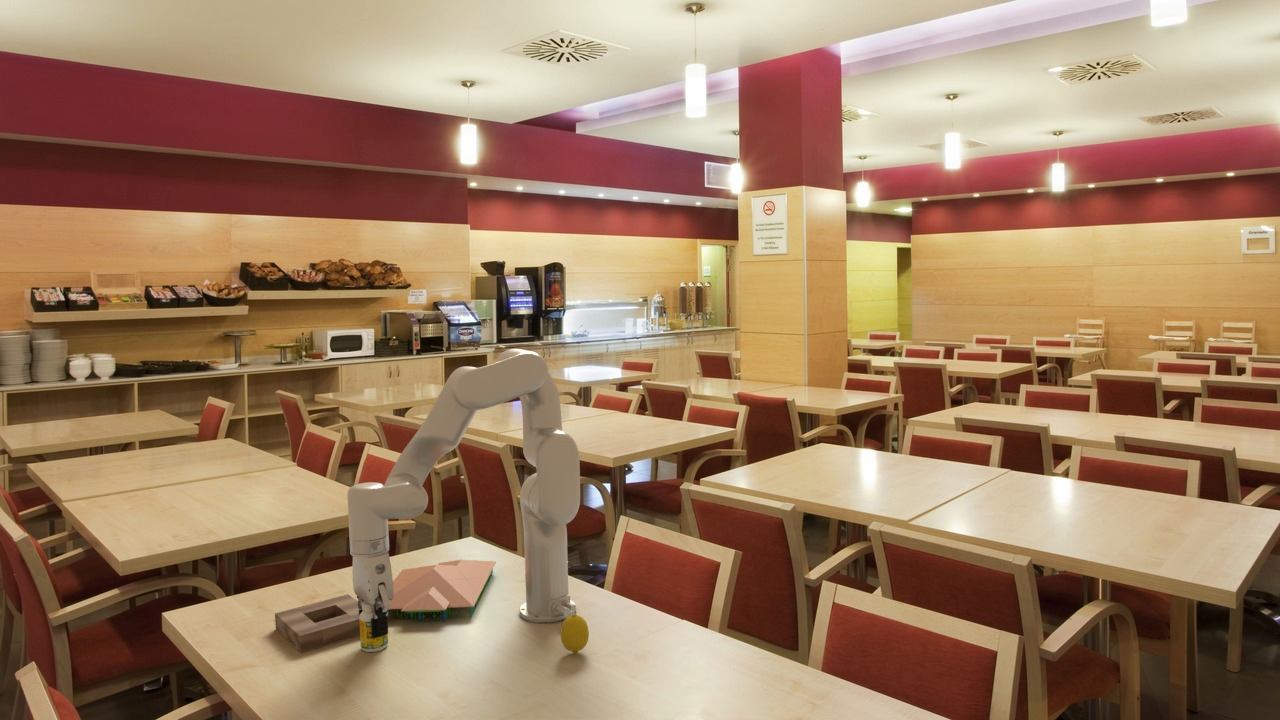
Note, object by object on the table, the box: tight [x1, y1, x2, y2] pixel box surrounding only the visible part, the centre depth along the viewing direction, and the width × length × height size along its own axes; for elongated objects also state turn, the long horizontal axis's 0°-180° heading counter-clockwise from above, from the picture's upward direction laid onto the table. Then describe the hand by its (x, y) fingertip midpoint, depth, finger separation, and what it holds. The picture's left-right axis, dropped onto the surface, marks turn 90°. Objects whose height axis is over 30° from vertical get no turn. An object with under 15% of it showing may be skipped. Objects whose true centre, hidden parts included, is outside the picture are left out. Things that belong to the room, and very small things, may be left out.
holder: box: [274, 593, 360, 653], centre depth 172 cm, size 16×16×4 cm
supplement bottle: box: [359, 599, 389, 653], centre depth 162 cm, size 5×5×10 cm
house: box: [379, 559, 497, 623], centre depth 189 cm, size 23×33×8 cm
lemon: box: [560, 613, 590, 654], centre depth 158 cm, size 6×6×8 cm
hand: (373, 630), depth 163 cm, fingers closed on supplement bottle, 5 cm apart
